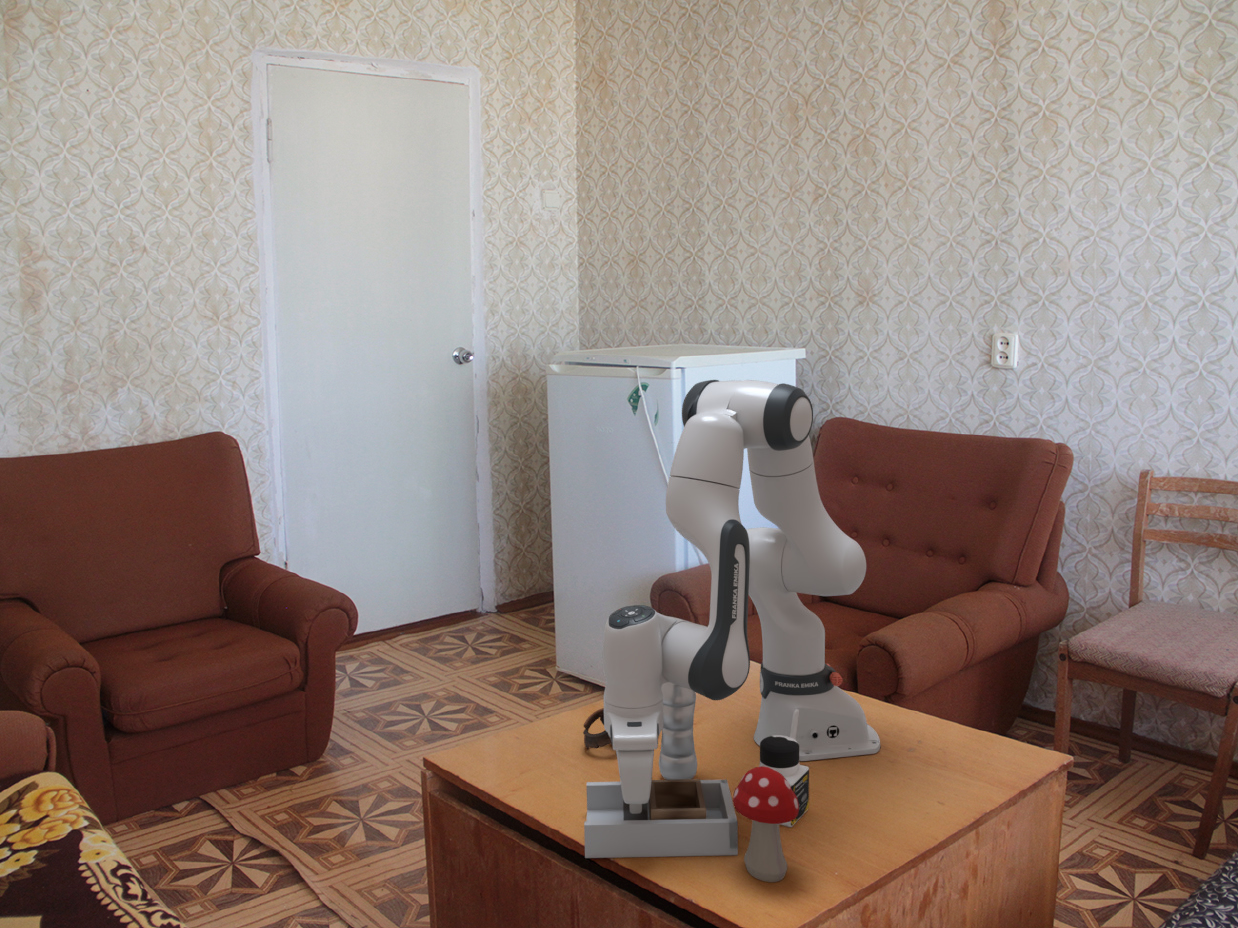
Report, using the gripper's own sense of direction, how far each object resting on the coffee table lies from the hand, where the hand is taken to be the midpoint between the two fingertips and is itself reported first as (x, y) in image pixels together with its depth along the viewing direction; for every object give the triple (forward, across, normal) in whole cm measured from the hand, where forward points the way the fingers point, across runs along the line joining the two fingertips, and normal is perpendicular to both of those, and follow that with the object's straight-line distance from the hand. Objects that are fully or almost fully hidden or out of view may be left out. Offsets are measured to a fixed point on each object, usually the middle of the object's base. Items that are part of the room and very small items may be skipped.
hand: (635, 804), depth 155 cm
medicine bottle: (+5, -5, +22) cm, 24 cm away
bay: (+5, 0, +4) cm, 6 cm away
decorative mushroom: (+5, +12, +18) cm, 22 cm away
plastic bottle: (+5, -18, +8) cm, 21 cm away
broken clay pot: (+5, -33, -4) cm, 34 cm away
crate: (+3, 0, +4) cm, 5 cm away
